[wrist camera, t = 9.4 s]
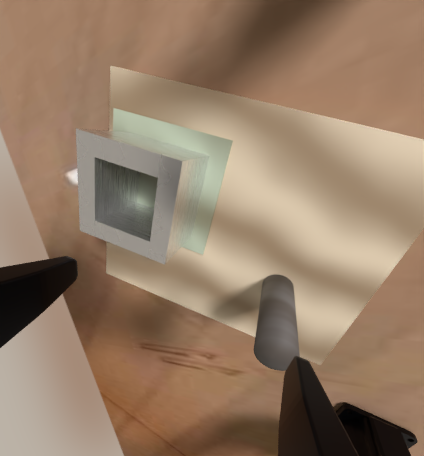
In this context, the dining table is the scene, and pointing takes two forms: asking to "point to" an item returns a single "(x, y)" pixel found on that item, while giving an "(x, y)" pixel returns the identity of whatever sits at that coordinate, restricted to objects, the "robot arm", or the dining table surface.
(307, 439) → the robot arm
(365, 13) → the dining table surface
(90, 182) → the collar
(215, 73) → the dining table surface
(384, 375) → the dining table surface
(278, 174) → the board
